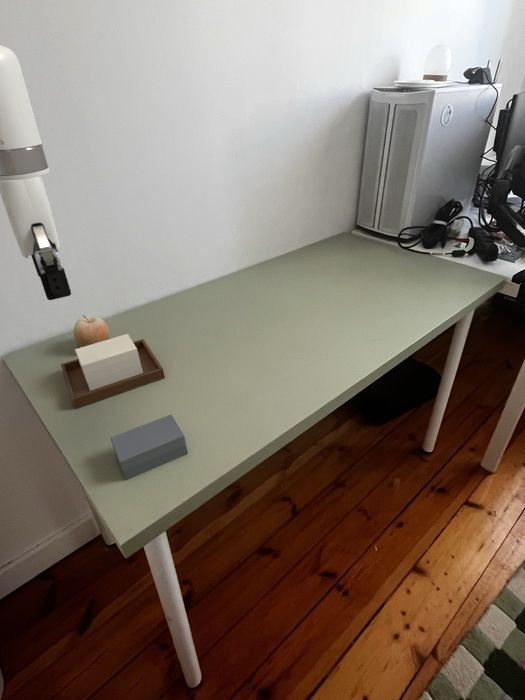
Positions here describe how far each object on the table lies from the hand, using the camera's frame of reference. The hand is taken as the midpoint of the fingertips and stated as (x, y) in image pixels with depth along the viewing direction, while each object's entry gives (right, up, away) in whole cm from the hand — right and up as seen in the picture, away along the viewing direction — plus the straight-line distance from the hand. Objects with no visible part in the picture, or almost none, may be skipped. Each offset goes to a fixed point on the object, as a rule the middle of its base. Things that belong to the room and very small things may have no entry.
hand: (54, 285), depth 65 cm
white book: (+1, -11, +20) cm, 23 cm away
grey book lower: (+14, -26, +4) cm, 30 cm away
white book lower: (+1, -14, +22) cm, 27 cm away
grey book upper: (+13, -25, +3) cm, 28 cm away
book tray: (+1, -15, +23) cm, 27 cm away
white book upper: (+1, -13, +21) cm, 25 cm away
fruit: (-6, -9, +32) cm, 34 cm away
